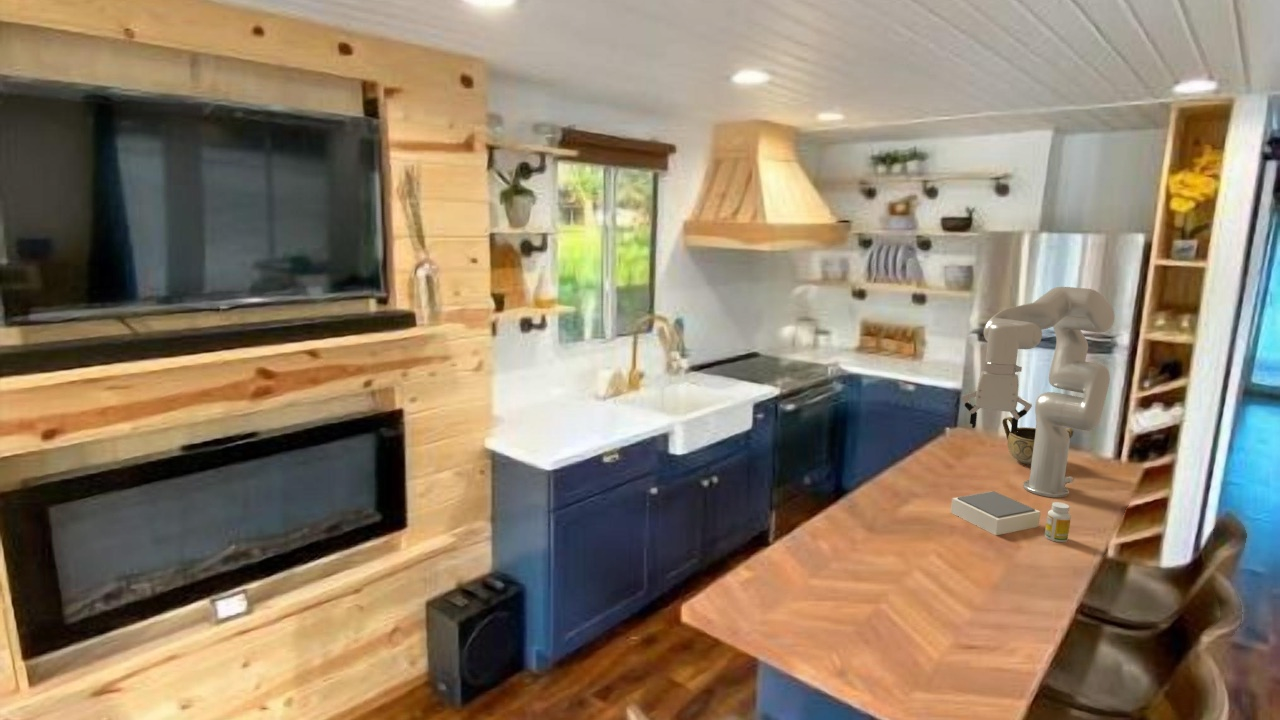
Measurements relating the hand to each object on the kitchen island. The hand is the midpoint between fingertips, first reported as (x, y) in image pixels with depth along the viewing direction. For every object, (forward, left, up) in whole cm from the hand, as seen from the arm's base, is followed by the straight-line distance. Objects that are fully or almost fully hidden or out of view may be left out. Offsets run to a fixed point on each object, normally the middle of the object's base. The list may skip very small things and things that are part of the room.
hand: (992, 429), depth 197 cm
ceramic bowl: (-56, -31, -27) cm, 70 cm away
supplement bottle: (-10, +15, -27) cm, 33 cm away
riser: (-4, 0, -27) cm, 28 cm away
